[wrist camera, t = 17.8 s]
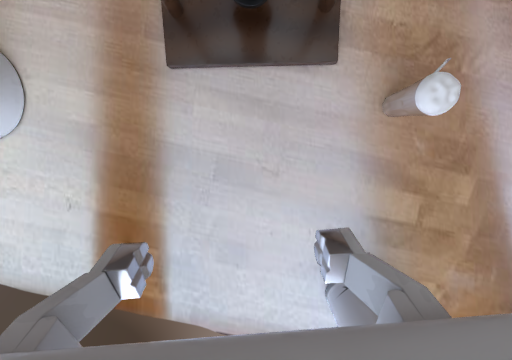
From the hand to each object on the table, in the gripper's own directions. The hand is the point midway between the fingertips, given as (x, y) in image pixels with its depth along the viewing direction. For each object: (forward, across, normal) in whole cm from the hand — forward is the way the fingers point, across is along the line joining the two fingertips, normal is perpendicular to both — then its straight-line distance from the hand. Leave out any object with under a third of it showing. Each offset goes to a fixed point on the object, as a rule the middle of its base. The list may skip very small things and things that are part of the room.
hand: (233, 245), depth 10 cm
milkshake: (+24, -23, -2) cm, 33 cm away
